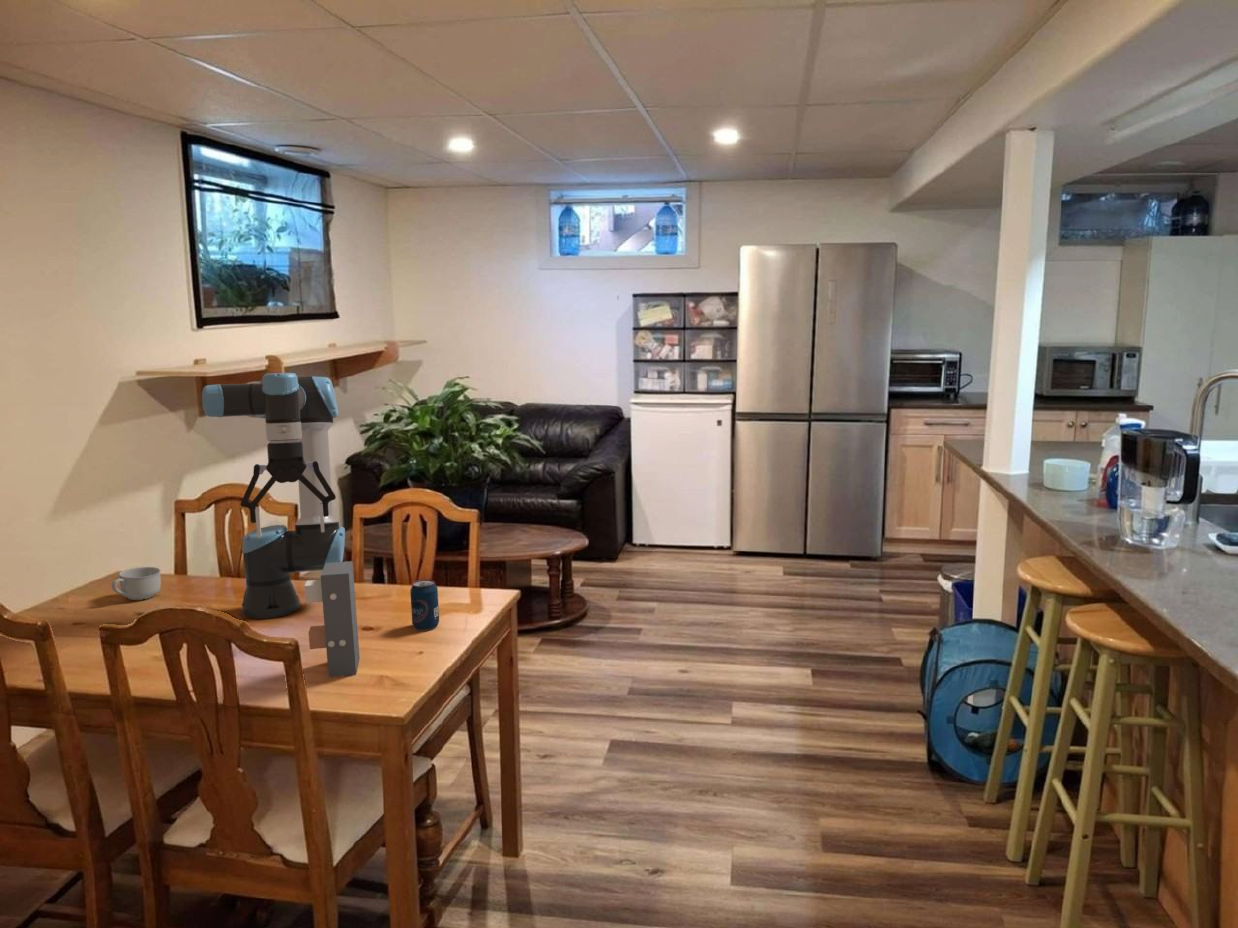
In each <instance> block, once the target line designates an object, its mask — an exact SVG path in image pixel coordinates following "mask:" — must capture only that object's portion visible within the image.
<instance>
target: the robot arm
mask: <svg viewBox="0 0 1238 928" xmlns="http://www.w3.org/2000/svg"><path fill="white" fill-rule="evenodd" d="M201 399H202V400H201V402H202V409H203V412H204V414H205V415H206V416H207V417H209V418H225V417H244V416H245V417H246V416H247V417H249V418H257V419H258V418H259V419H265V434H266V440H267V441H268V442H269V443H267V445H266V449H267V465H266V464H265V465H264V464H258V463H256V464H254V466H253V475H252V477H251V480H250V481H249V483H248V486H247V488H246V491H245V493H244V495H243V497H242V499H241V502H240V503H239V504H240V506H241V507H242V508H247V509H249V518H250V519H249V520H250V523H251V524H256V529H254V530H251V531H249V532H247V533H246V534H244V536H243V538H242V552H241V553H242V554H243V564H244V565H243V566H244V574H245V585H246V587H245V590H244V594H243V598H242V599H243V600H242V603H241V615H242V616H243V617H245V618H246V619H247V618H248V619H255V620H263V619H265V620H266V619H274V618H279V617H284V616H286V615H291V614H293V613H295V612H296V611H298V610H300V607H301V602H300V597H299V595H298V594H297V591H296V589H295V586H294V584H293V581H292V575H291V574H292V573H302V572H314V571H315V572H317V571H323V569H324V566H325V564H326V563H335V562H343V560H344V553H345V545H346V543H345V541H346V529H345V527H343V526H340V522H339V519H337V518H336V517H335V516H334V514H333V513H334V512H333V501H334V500H336V498H337V497H336V494H335V492H334V490H332V480H331V479H332V477H331V475H332V474H331V463H330V462H331V461H330V446H329V445H330V444H329V430H330V428H331V427H333V425H334V419H336V418H338V417H339V410H338V402H337V398H336V393H335V389H334V386H333V383H332V381H331V379H330V378H329V377H327V376H314V375H312V376H298V375H297V374H296V373H294V372H278V373H277V372H273V373H265V374H264V375H263V376H262V379H261V380H256V381H255V380H254V381H250V382H247V383H226V384H221V383H217V384H208V385H205V386H204V387H203V388H202V393H201ZM265 471H266V472H267V473H269V474H270V476H271V477H270V478H269V480H267V482H266V484H264V486H263V487H262V488H261V490H260V491H259V492H258V493H257V495H256V496H255V497H254V498H253V500H252V501H249V500H250V498H251V495H252V493H253V491H254V489H255V486H256V484H257V482H258V480H259V478H260V475H262V474H264V472H265ZM297 481H298V482H297ZM276 482H277V483H279V484H285V483H296V482H297V483H298V493H299V494H298V495H299V496H298V497H299V500H298V501H299V513H300V514H299V515H300V518H299V519H298V520H297V521H296V522H295V523H294V526H295V527H294V529H295V530H288V527H287V526H286V525H285V524H275V525H268V526H264V527H262V525H261V513H260V510H261V509H260V507H257V505H259V503H260V501H262V499H263V498H264V497H265V495H266V494H267V493H268V492H269V491H270V489H271V488H272V487H273V486H274V484H275V483H276Z"/></svg>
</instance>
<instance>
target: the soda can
mask: <svg viewBox="0 0 1238 928" xmlns="http://www.w3.org/2000/svg"><path fill="white" fill-rule="evenodd" d="M409 592H410V607H411V611H410V612H411V622H412V623H411V624H412V625H413V627H414V628H415V630H417V631H422V632H423V631H425V630H426V631H431V630H434V629H436V628H437V627H438V625H439V623H440V609H439V608H440V607H439V594H438V593H439V592H438V587H437V584H436V582H435V580H433V579H418V580H415V581H413V582H412V586H411V588H410V591H409Z"/></svg>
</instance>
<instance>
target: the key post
mask: <svg viewBox="0 0 1238 928" xmlns="http://www.w3.org/2000/svg"><path fill="white" fill-rule="evenodd" d="M321 571H322V572H321V573H320V580H321V588H322V600H323V602H322V609H323V610H322V611H323V625H325V638H326V648H325V649H326V659H327V660H326V662H327V672H328V673H327V674H328V675H327V676H328V678H337V677H347V676H348V677H349V676H356V675H357V673H358V667H359V663H360V644H359V643H360V642H359V631H358V629H359V628H358V618H357V617H358V615H357V603H356V589H355V576H354V575H355V573H354V564H353V561H352V560H350V561H342V562H335V563H326V564H325V566H324V569H323V570H321Z"/></svg>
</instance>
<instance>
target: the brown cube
mask: <svg viewBox="0 0 1238 928" xmlns="http://www.w3.org/2000/svg"><path fill="white" fill-rule="evenodd" d="M307 634H308V645H309V650H315V649H317V650H318V649H326V638H325V625H324V624H322V625H311V626H310V627H309V630H308V633H307Z"/></svg>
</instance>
